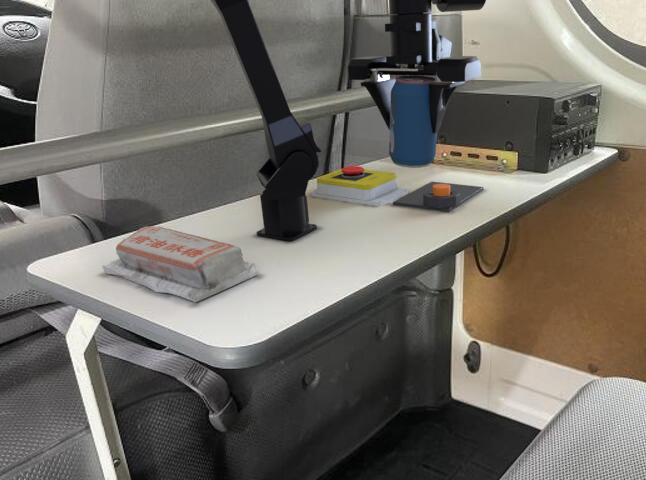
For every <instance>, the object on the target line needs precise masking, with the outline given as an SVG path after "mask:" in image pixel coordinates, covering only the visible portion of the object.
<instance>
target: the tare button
mask: <svg viewBox="0 0 646 480" xmlns="http://www.w3.org/2000/svg"><path fill="white" fill-rule="evenodd" d="M433 195H434V196H448V195H450V185H448V184H435V185H433Z"/></svg>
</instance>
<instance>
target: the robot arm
mask: <svg viewBox="0 0 646 480" xmlns="http://www.w3.org/2000/svg"><path fill="white" fill-rule="evenodd" d="M210 1H211V4H212V5H213V6H214V8H215V9H216V11H217V13H218V14H219V16H220V18H221V21H222V24H223V25H224V29H225V30H226V32H227V35H228V38H229V40H230V43H231V45H232V48H233V51H234V52H235V55H236V57H237V60H238V62H239V65H240V67H241V70H242V72H243V74H244V77H245V80H246V82H247V84H248V87H249V89H250V92H251V94H252V97H253V100H254V102H255V104H256V106H257V109H258V111H259V113H260V116H261V119H262V125H263V131H264V139H265V143H266V148H267V151H268V156H269V157H268V158H267V159H266V160H265V162H264V163H263V164H262V165H261V167H259V169H258V170H257V171H256V176H257V178H258V180H259V182H260V184H261V186H262V187H263V188H264V190H263V191H262V193H261V194H259V199H260V206H261V214H262V221H263V228H262V229H259V230H257V231H256V236H260V237H265V238H271V239H274V240H275V239H277V240H280V241H281V240H282V241H288V242H291V241H294V240H296V239H299V238H301V237H302V236H305V235H307V234H309V233H311V232H312V231H315V230H316V229H317V228H318V225H317V224H316V223H315V224H314V223H309V222H310V217H309V208H308V197H307V195H306V193H307V188H308V185H309V182H310V180H312V178H314V176H315V175H316V173H317V171H318V168H319V167H320V160H319V156H318V154H317V153H320V154H321V152H322V150H321V149H320V147H319V146H318V145H317V144H316V142H315V138H314V132H313V128H312V125H311V123H310V122H308V121H307V120H306V119H304V118H303V117H298V118H297V119H296V117H295V115H293V113H292V111H291V109H290V107H289V104H288V102H287V99H286V96H285V94H284V91H283V89H282V86H281V83H280V81H279V77H278V76H277V72H276V69H275V67H274V65H273V62H272V60H271V57H270V55H269V52H268V49H267V47H266V44H265V42H264V39H263V37H262V34H261V31H260V29H259V26H258V23H257V20H256V18H255V15H254V13H253V11H252V7H251V5H250V1H249V0H210ZM486 2H487V0H388V10H389V11H388V12H389V23H387V22H386V23H384V32H385V33H388V32H389V35H390V40H389V41H390V55H386V56H385V55H384V56H383V55H381V56H379V55H374V56H373V55H369V56H361V57H353V58H350V60H349V62H348V64H347V66H346V74H347V80H349V81H361V82H360V87H365V89H366V90H367V92H368V94H369V95H370V97H371V99H372V100H373V102H374V103H375V105H376V107H377V109H378V111H379V113H380V115H381V117H382V119H383V121H384V123H385V125H386V128H387V129H388V131H390V104H391V89H392V87H393V86H394V84H395V82H396V81H395V79H396V77H395V78H394V77H390V76H426V77H432V76H435V79H436V82H435V83H432V84H429V99H430V115H431V126H432V131H433V133H437V134H438V133H439V132H440V128H441V125H442V122H443V119H444V116H445V113H446V110H447V108H448V104H449V102H450V99H451V97H452V96H453V94H454V92H455V90H456V89H457V88H458V87H459V86H463V85H464V84H465V83H466V82H469V81H472V80H476V79H479V78H481V77H482V75H481V74H482V64H481V62H480V59H479V58H478V56H477V55H452V56H451V52H452V45H453V43H452V42H451V41H450V40H449V39H448V38H446V37H445V36H444V35H441V34H439V33H438V25H437V20H432V19H433V13H432V10H433V8H432V7H433V5H435V6H436V8H437V10H438V11H439V12H441V13H450V12H451V13H452V12H467V11H470V12H471V11H480V10H482V9H483V7H484V6H485V4H486ZM402 65H404V66H402Z"/></svg>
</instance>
